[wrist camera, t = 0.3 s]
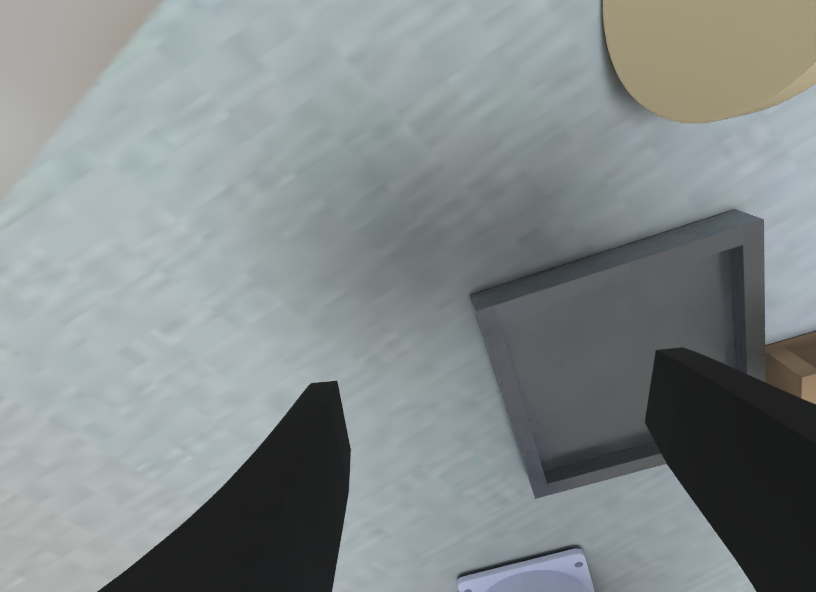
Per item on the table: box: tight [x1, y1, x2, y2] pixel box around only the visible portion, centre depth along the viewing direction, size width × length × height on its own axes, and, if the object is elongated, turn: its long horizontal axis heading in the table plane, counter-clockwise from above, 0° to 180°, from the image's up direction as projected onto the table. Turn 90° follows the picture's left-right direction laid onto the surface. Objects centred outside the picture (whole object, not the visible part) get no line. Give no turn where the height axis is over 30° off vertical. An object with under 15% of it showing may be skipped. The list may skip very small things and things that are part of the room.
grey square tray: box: [470, 209, 765, 499], centre depth 21 cm, size 12×12×2 cm
